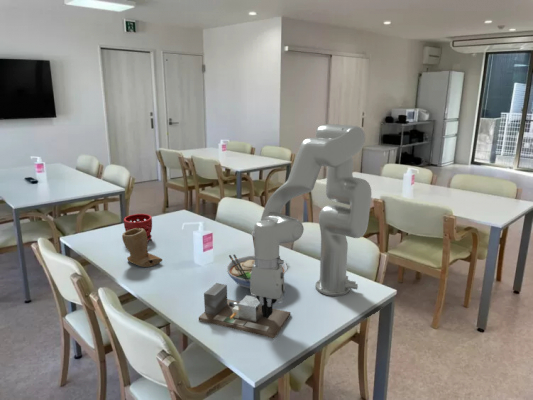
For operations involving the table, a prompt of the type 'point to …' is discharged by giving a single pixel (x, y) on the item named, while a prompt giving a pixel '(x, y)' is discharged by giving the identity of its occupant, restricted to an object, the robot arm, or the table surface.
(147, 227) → the plant pot
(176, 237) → the table surface
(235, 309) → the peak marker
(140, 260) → the brown boot-shaped piece
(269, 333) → the bench
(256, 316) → the gauge plunger
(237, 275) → the ramen bowl
